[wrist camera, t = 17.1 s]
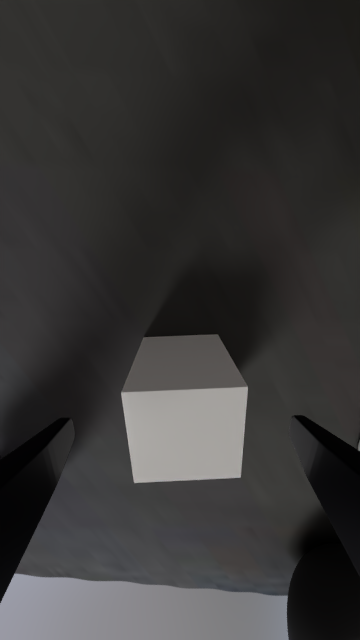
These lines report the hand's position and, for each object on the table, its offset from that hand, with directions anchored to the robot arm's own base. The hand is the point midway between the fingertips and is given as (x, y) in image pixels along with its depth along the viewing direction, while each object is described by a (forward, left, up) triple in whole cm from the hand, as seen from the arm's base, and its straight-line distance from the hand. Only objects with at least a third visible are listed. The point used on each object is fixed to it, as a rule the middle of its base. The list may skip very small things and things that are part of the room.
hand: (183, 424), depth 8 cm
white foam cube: (0, -5, -12) cm, 13 cm away
